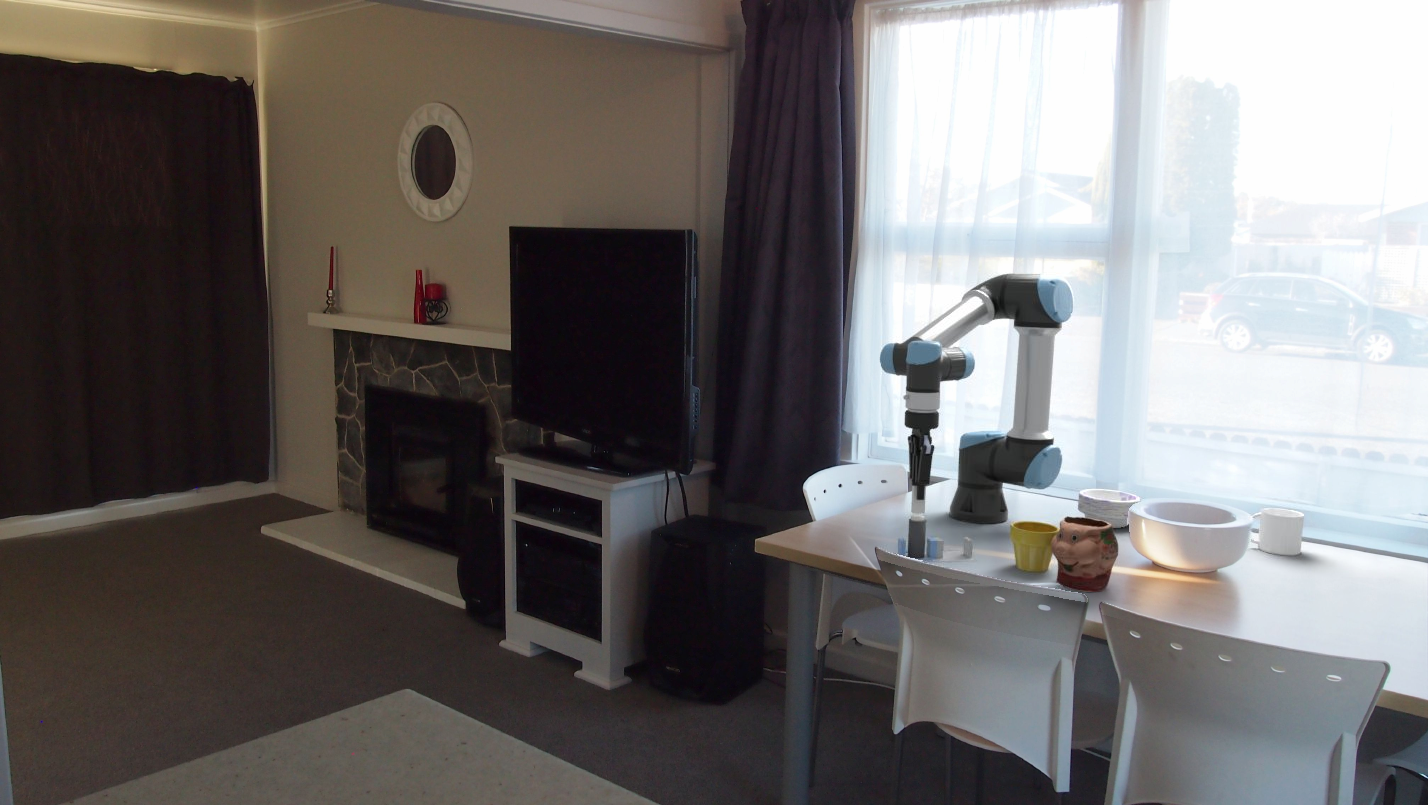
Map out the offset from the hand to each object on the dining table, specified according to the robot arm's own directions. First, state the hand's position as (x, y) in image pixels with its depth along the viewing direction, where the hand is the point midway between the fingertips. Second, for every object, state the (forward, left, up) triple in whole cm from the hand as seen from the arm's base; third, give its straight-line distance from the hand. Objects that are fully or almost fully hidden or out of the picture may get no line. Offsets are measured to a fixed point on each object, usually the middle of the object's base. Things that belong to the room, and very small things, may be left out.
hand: (918, 512), depth 231 cm
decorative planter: (-31, +20, -11) cm, 38 cm away
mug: (-89, -5, -11) cm, 90 cm away
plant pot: (-24, +9, -11) cm, 28 cm away
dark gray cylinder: (0, 0, -10) cm, 10 cm away
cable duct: (-4, 0, -11) cm, 12 cm away
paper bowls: (-60, -30, -11) cm, 68 cm away
